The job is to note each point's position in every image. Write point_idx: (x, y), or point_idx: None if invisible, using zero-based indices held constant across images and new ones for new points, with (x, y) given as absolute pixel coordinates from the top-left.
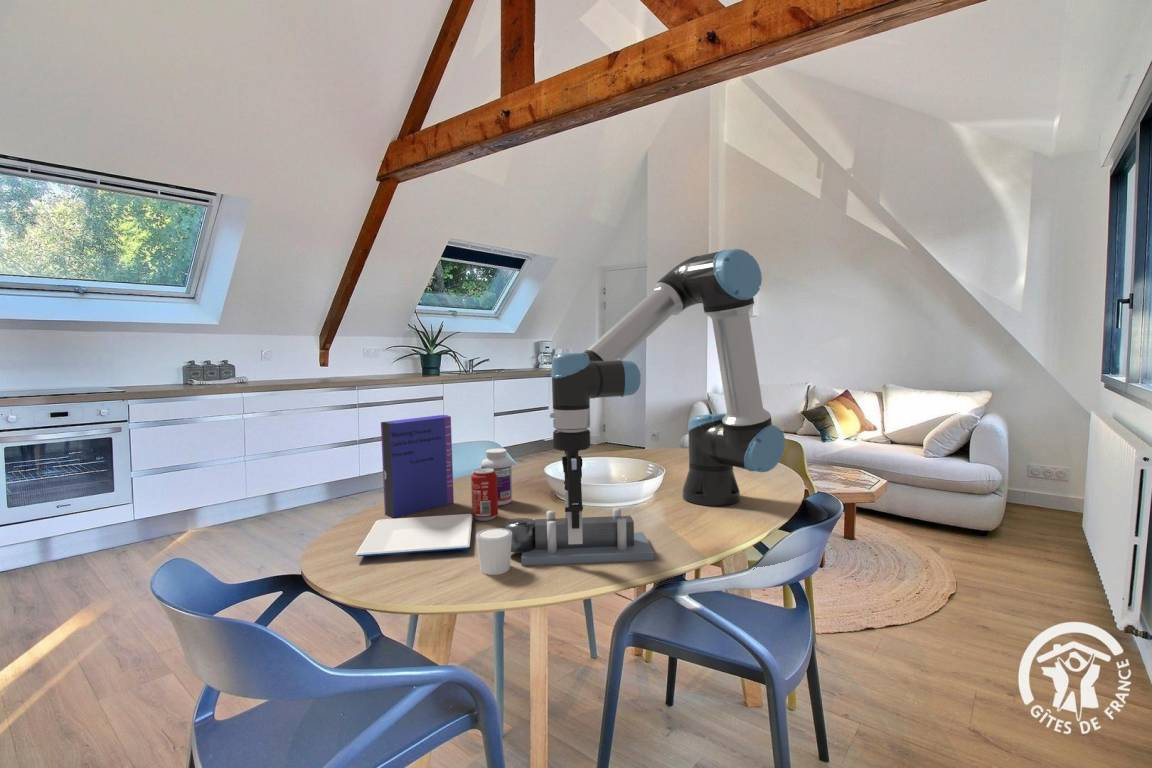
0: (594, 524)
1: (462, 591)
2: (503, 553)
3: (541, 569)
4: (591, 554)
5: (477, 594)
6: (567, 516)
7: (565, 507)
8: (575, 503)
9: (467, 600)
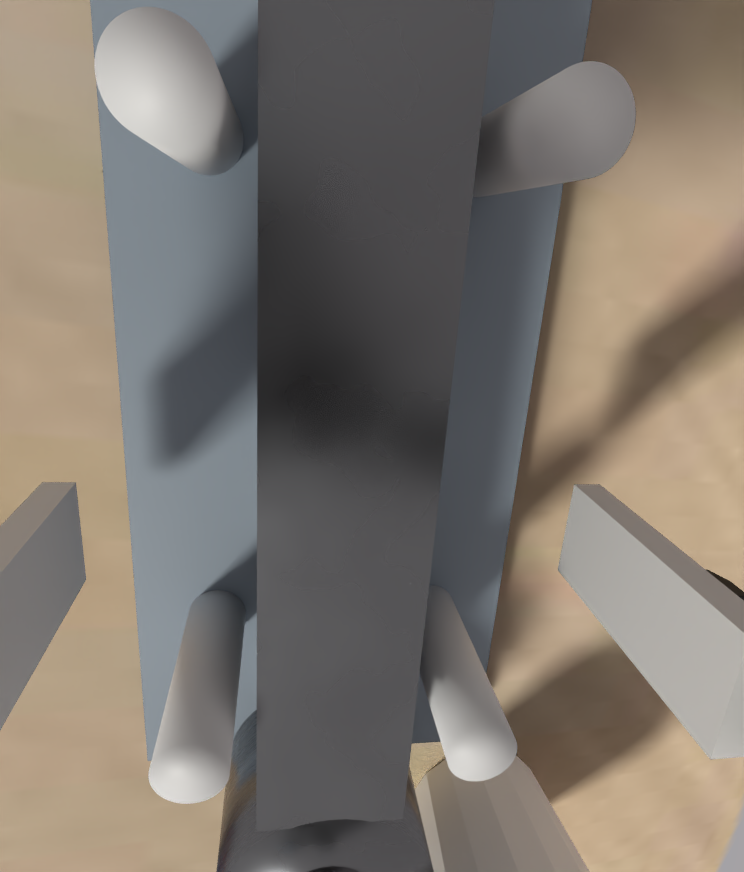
0: (445, 400)
1: (643, 858)
2: (577, 851)
3: (529, 627)
4: (519, 393)
5: (683, 814)
6: (66, 590)
7: (36, 663)
8: (2, 594)
9: (715, 832)
